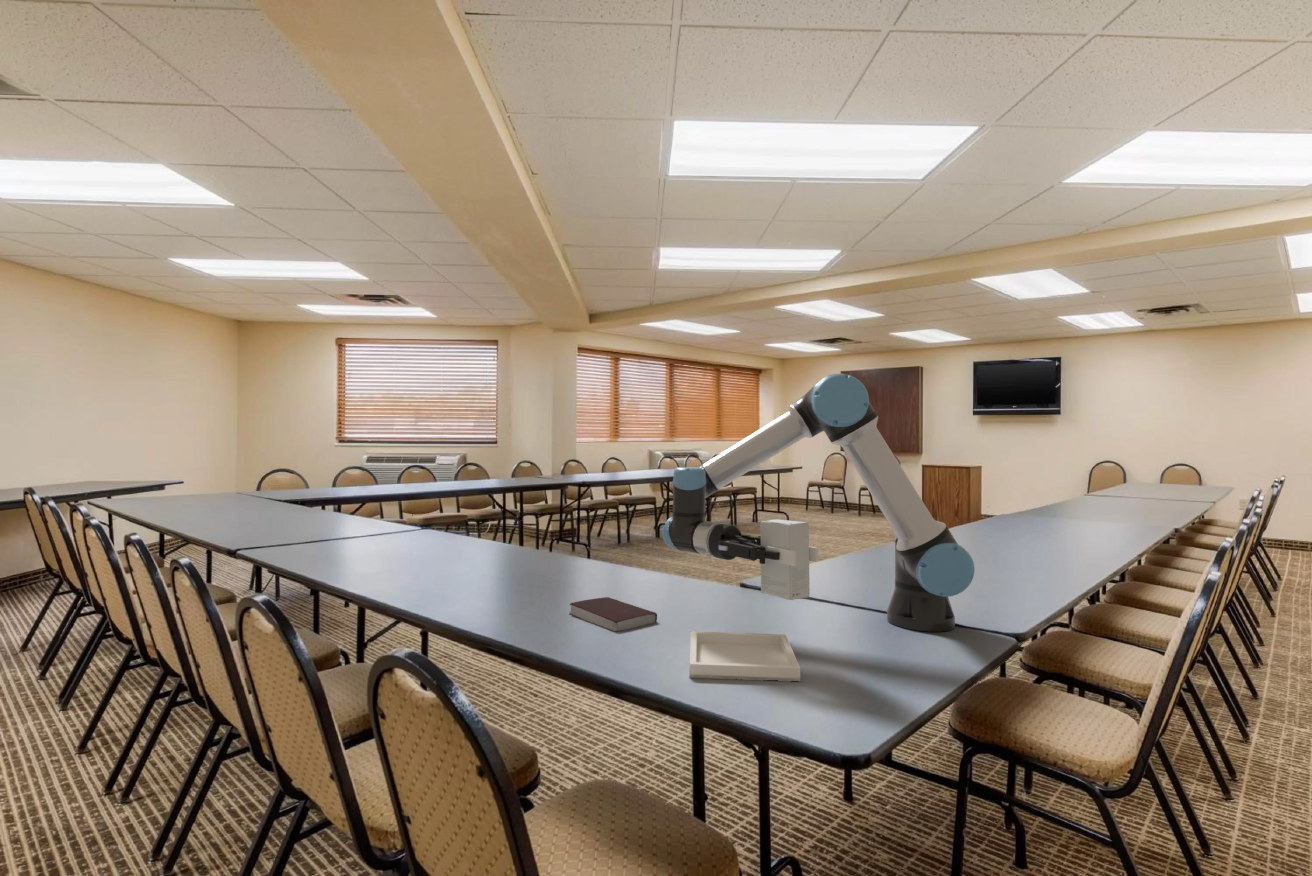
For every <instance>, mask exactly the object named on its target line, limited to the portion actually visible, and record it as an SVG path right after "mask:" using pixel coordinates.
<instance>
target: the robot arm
mask: <svg viewBox="0 0 1312 876" xmlns="http://www.w3.org/2000/svg"><path fill="white" fill-rule="evenodd" d="M878 420H879V415H878V414H877V413H876V411H875V409H874V407H873V406H872V404H871V402H870V398H869V392H868V390H867V388H866V386H865V385H864V384H863V383H862V382H861V381H860V380H859V379H858V378H857V377H854V376H853V375H850V374H846V373H833V374H829V375H827V376H825V377H823V378H822V379H820V380H819V381H817V382H816V383H815V384H814V385H813V386H812V387H811V388H810V389H809V390H808V391H807V392H806V393H805V394H803V395H802V396H801V397H800V398H799V399H797V400H796V401H795V402H792V403H791V404H790V405H789V407H788V411H786V412H784V413H783V414H781V415H780V416H778V417H776V418H775V419H773V420H772V421H770V422H768V423H767V424H765V425H764V426H762V427H760V428H759V429H757V430H756V431H754V432H752V433H751V434H749V435H748V436H746V437H744V438H743V439H741V440H740V441H738V442H737V443H734V444H733V445H732V446H730V447H728V448H727V449H725V450H724V451H722V452H721V453H719V454H717V455H716V456H715V455H714V457H712V458H711V459H709V460H707V461H706V462H705V463H703V464H702V465H699V466H698V467H694V466H690V467H689V466H681V467H679V466H677V467H676V468H675V469H674V471H673V479H672V484H673V486H672V489H673V490H672V492H673V493H672V516H671V517H669V518H668V519H666V521H665V522H664V525H663V527H662V532H661V533H662V534H661V535H662V539H663V541H664V543H665V544H666V545H667V547H670V548H673V549H675V550H677V551H681V552H689V553H692V554H693V553H694V554H698V555H703V556H706V558H707V559H711V558H712V557H713V558H716V559H720V560H725V561H732V560H734V559H735V558H740V559H745V560H749V561H753V562H755V561H757V560H759V564H760V565H761V564H765V558H767V561H772V562H777V563H782V564H787V565H792V566H796V551H793V550H787V549H781V548H776V547H770V546H768V547H767V550H765V547H764V546H761V535H759V536H751V535H750V534H742V533H741V530H740V529H739V528H738V527H737V526H735V525H732V524H725V523H720V522H714V521H707V520H706V519H705V516H706V499H707V498H708V497H710V496H711V495H713V494H715V493H716V492H717V491H719V490H720V489H722V488H724V487H725V486H727V485H728V484H730V483H732V482H734V481H735V480H737V479H739V478H740V477H742V476H743V475H745V474H746V473H749V472H750V471H751V470H753V469H756V468H757V467H758V466H761V464H763V463H764V462H766V461H768V460H770V459H772V458H773V457H774V456H776V455H778V454H780V453H781V452H783V451H784V450H786V449H788V448H789V447H791V446H793V445H794V444H796V443H797V442H800V440H802V439H804V438H809V439H811V438H813V437H815V436H817V435H818V434H821V433H822V432H824V433H825V435H826V436H827V438H828V439H829V442H830V443H831V444H832V445H836V446H840V447H842V449H843V451H844V452H845V454H846V456H847V458H848V459H849V460H850V462H851V464H852V466H853V467H854V469H855V470H856V472H857V473H858V475H859V477H860V478H861V480H862V482H863V484H864V485H865V486H866V488H867V489H868V491H869V493H870V494H871V497H872V499H874V501H875V503H876V504H877V506H878V508H879V509H880V511H881V512H882V514H883V515H884V517H885V519H886V520H887V522H888V524H889V526H890V527H891V529H892V530H893V532H894V534H895V535H894V536H895V537H894V590H893V592H892V596H891V599H890V601H889V604H888V606H887V609H886V621H888V623H890V624H892V625H894V626H898V627H900V628H902V629H903V628H904V629H907V630H912V631H918V632H919V631H921V632H922V631H923V632H947V631H951V630H953V629H955V628H956V627H955V626H956V616H955V613H954V610H953V608H952V604H951V602H950V598H949V597H953V596H957V595H959V594H961V593H962V592H964V591H965V590H966V589H968V588H969V586H970V585H971V583H972V582H973V580H974V576H975V568H976V567H975V563H974V560H973V558H972V556H971V554H970V553H969V552H968V551H967V550H966V548H965V547H963V546H962V545H959V544H958V542H957V540H956V539H955V537H954V535H953V534H952V532H951V530H950V529H949V528H948V525H946V523H945V522H943V521H939V520H936V519H934V518H933V516H932V514H931V513H930V511H929V509H928V507H927V506H926V505H925V503H924V501H923V500H922V498H921V496H920V494H919V493H918V492H917V490H916V488H915V486H914V485H913V483H912V482H911V480H910V479H909V477H908V476H907V474H906V473H905V471H904V469H903V467H902V466H901V464H900V463H899V460H898V459H897V458H896V455H894V453H893V451H892V449H890V447H889V445H888V444H887V442H886V440H885V439H884V437H883V435H882V434H881V432H880V431H879V429H878V428H877V424H878ZM818 549H819V548H818V547H815V546H810V545H809V562H814V563H816V562H818V561H819V560H818V558H819V556H818V554H819V553H818V552H819V550H818Z"/></svg>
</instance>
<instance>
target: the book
mask: <svg viewBox="0 0 1312 876" xmlns="http://www.w3.org/2000/svg"><path fill="white" fill-rule="evenodd" d="M569 605H570V612H569V615H570V616H574V617H576V618H578V619H581V620H583V621H587V622H589V623H592V624H595V625H598V626H599V627H602V628H606V629H609V630H610V631H613V632H615V633H618V632H620V631H621V632H622V631H624V630H628V629H632V628H637V627H641V626H645V625H649V624H653V623H657V620H658V614H657V612H656V611H652V610H648V609H646V608H643V607H639V606H636V605H633V604H630V603H627V602H624V601H620V600H618V599H615V598H612V597H610V596H608V597H607V596H605V597H597V598H589V599H584V600H580V601H578V600H577V601H573V602H571V603H569Z"/></svg>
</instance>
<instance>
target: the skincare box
mask: <svg viewBox="0 0 1312 876" xmlns="http://www.w3.org/2000/svg"><path fill="white" fill-rule="evenodd" d="M809 524H810V523H809V521H798V520H789V519H787V520H786V519H767V520H761V521H760V536H761V546H764V547H765V550H767V547H768V546H770V547H776V548H781V549H787V550H793V551H796V566H792V565H787V564H782V563H777V562H772V561H767V558H765V564H760V593H761V594H764V595H769V596H773V597H777V598H781V599H785V600H787V601H794V600H801V599H809V598H810V594H811V593H810V561H809V546H810V538H809V537H810V535H809V533H810V530H809Z"/></svg>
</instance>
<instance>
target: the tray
mask: <svg viewBox="0 0 1312 876" xmlns="http://www.w3.org/2000/svg"><path fill="white" fill-rule="evenodd" d="M689 648H690V649H689V675H688V676H689V679H713V680H714V679H715V680H736V679H737V680H741V679H742V681H763V680H778V681H777V682H791V681H799V682H798V683H800V682H801V665H800V664H799V662H798V660H797V657H796V655H795V653H794V651H793V648H792V646H791V644H790V641H789V639H788V637H787V635H786V633H785V634H784V633H751V632H750V633H748V632H719V631H718V632H717V631H715V632H714V631H690V646H689Z"/></svg>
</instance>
